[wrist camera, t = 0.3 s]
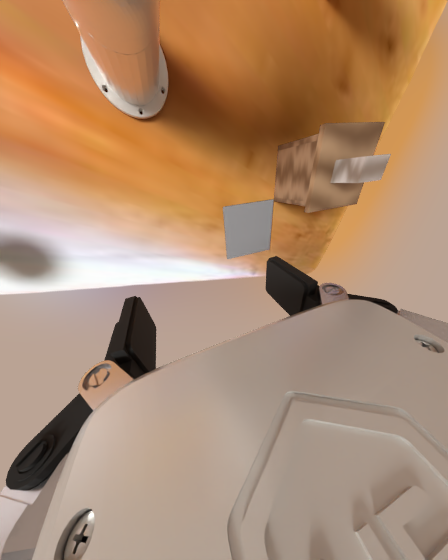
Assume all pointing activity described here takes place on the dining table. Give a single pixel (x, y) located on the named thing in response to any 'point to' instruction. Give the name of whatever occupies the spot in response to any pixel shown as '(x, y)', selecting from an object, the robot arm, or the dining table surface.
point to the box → (295, 170)
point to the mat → (247, 228)
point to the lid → (344, 164)
